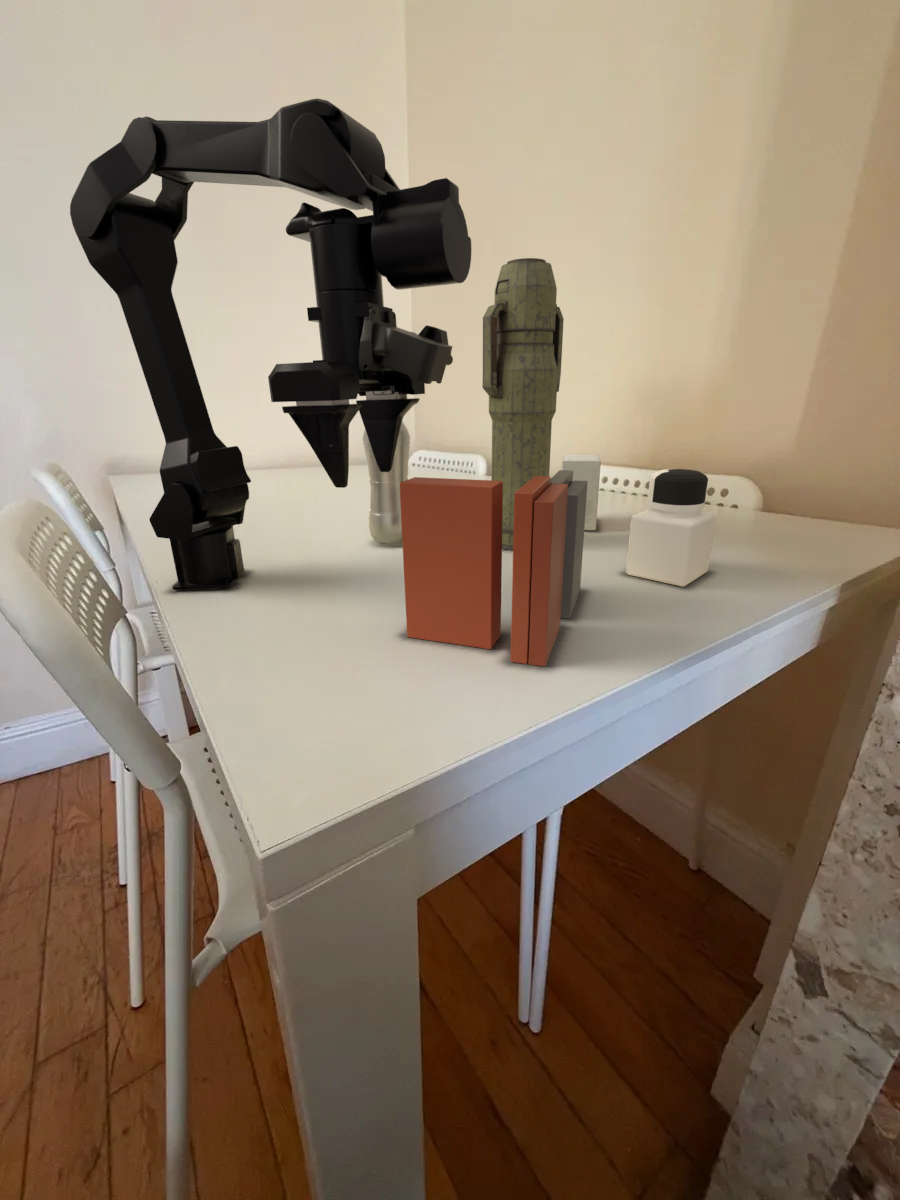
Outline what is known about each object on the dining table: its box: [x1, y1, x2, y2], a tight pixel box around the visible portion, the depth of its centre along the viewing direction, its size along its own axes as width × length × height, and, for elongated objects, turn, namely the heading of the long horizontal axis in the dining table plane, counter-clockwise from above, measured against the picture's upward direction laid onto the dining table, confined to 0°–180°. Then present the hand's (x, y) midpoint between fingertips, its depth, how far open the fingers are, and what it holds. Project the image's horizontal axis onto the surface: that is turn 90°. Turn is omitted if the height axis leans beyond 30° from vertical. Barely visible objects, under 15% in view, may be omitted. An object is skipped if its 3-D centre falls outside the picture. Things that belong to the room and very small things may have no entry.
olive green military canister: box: [482, 257, 565, 551], centre depth 75 cm, size 9×12×35 cm
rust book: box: [400, 476, 503, 650], centre depth 49 cm, size 8×3×14 cm, turn 69°
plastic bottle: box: [362, 420, 411, 545], centre depth 79 cm, size 6×7×20 cm
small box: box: [561, 454, 602, 531], centre depth 88 cm, size 8×6×10 cm
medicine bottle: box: [625, 468, 717, 587], centre depth 65 cm, size 7×7×12 cm
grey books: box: [550, 469, 588, 620], centre depth 57 cm, size 3×8×13 cm, turn 161°
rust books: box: [510, 475, 568, 667], centre depth 47 cm, size 3×8×14 cm, turn 161°
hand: (365, 479), depth 54 cm, fingers open, 9 cm apart
